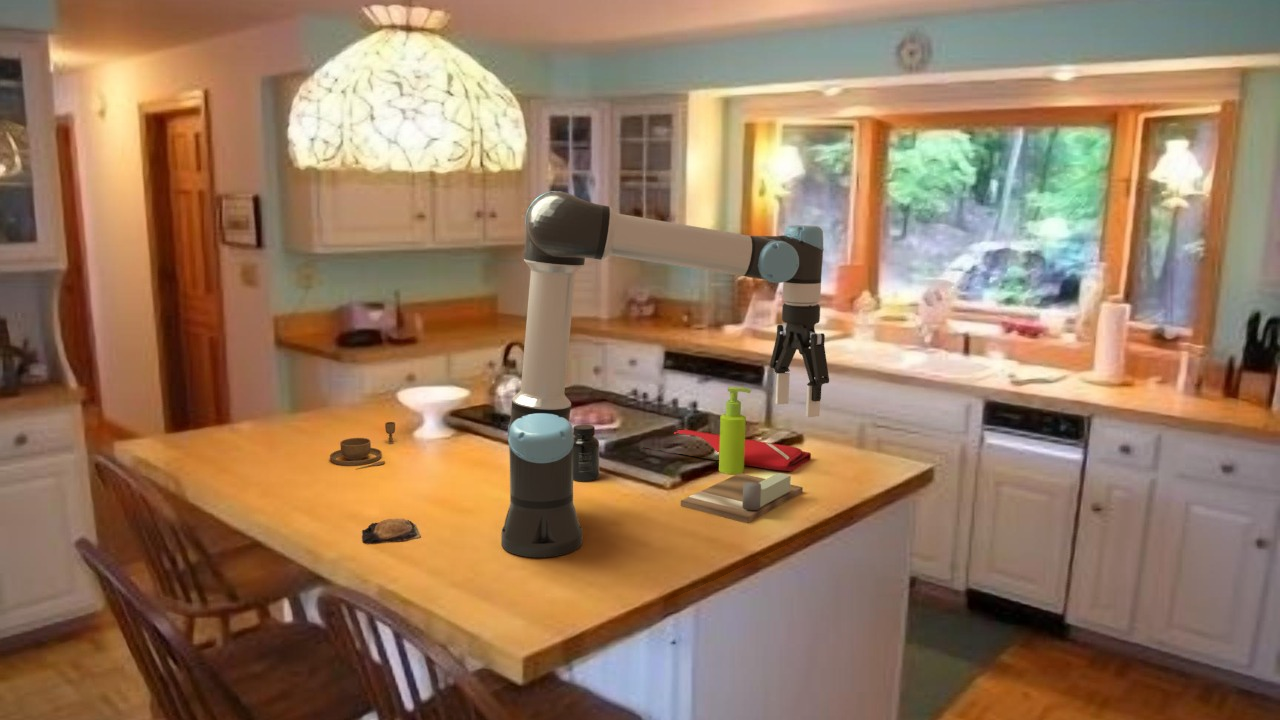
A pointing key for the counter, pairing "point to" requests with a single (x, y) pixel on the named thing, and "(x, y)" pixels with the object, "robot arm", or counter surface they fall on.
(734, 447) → the soap dispenser
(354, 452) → the place setting
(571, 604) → the counter surface
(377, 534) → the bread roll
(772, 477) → the sharpening stone
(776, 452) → the dish drying mat
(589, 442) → the supplement bottle
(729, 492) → the walnut board
